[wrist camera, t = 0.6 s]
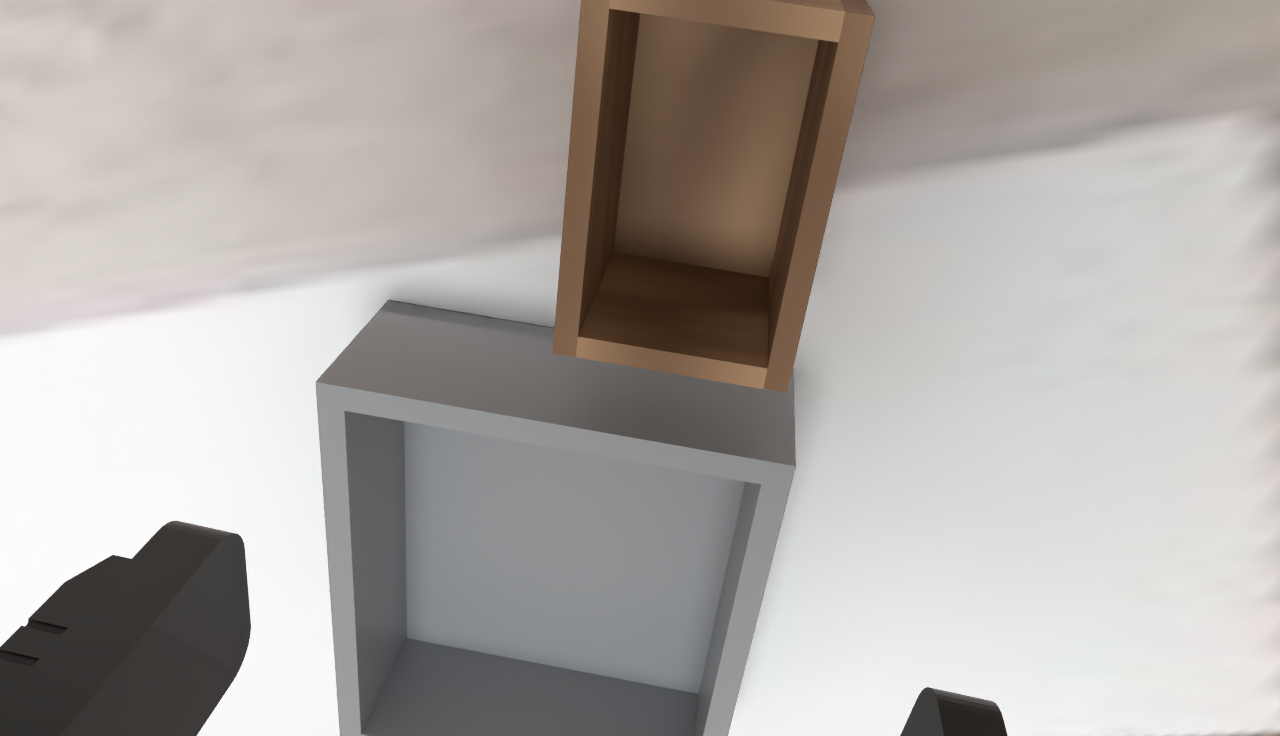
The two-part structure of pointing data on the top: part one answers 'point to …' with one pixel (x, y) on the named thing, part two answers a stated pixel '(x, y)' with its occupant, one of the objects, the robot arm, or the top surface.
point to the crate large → (540, 533)
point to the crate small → (703, 180)
